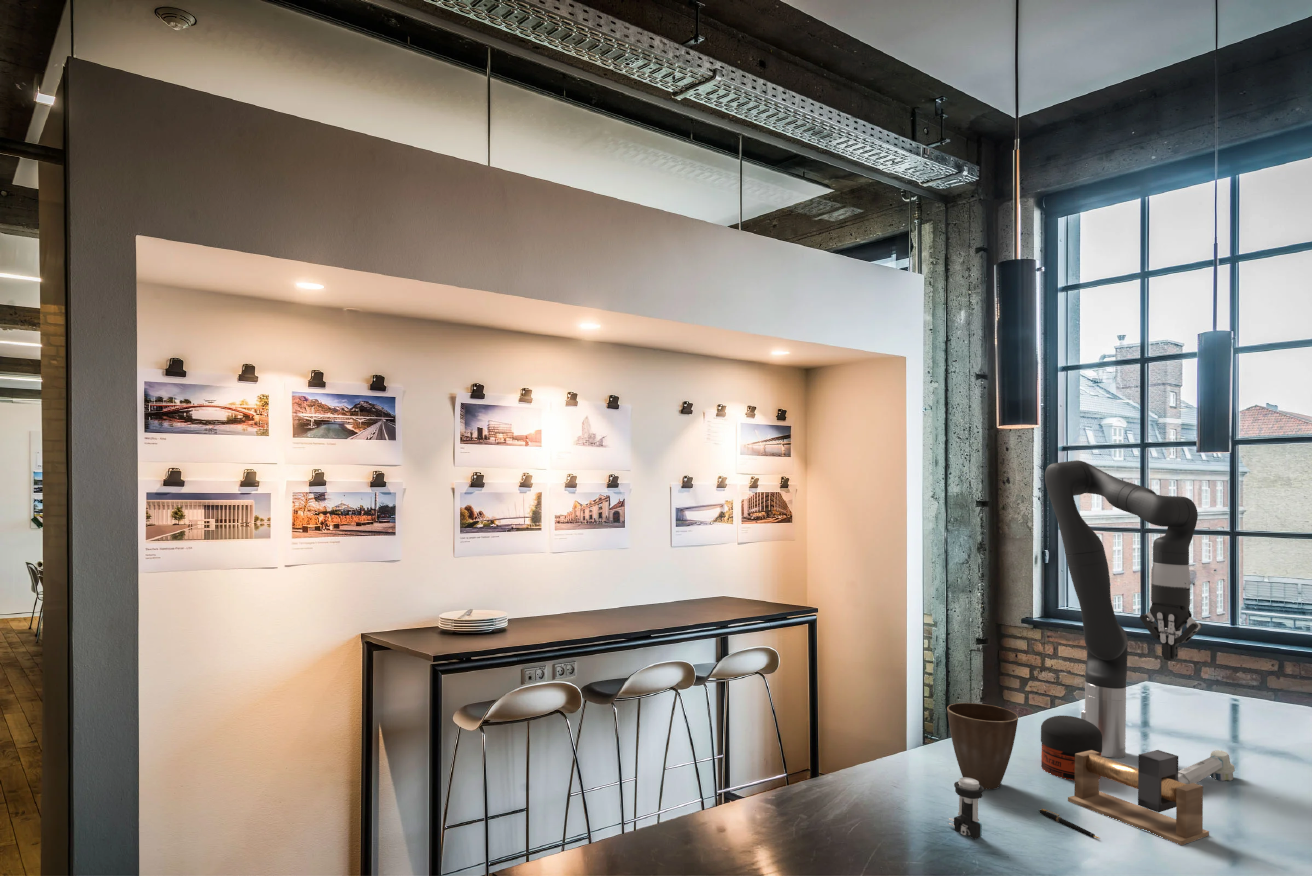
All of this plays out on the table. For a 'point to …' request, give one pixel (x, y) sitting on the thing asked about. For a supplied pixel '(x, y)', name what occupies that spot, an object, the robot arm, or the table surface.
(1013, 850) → the table surface
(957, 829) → the push button
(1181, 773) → the toothbrush head
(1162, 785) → the pipe
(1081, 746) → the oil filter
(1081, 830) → the fountain pen
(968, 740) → the plant pot
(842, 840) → the table surface
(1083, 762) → the stand
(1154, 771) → the collar
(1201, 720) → the table surface
